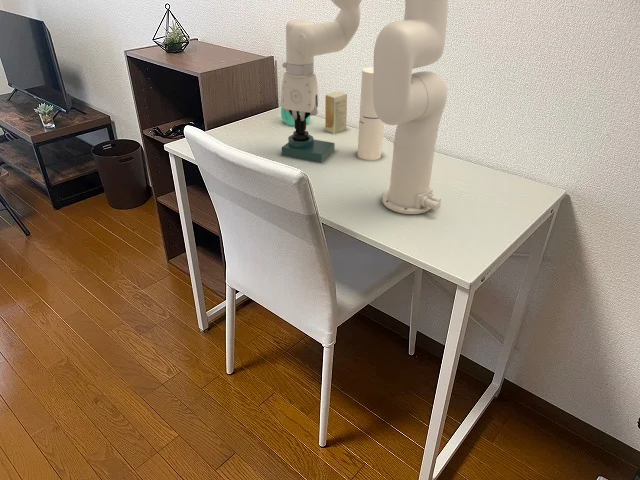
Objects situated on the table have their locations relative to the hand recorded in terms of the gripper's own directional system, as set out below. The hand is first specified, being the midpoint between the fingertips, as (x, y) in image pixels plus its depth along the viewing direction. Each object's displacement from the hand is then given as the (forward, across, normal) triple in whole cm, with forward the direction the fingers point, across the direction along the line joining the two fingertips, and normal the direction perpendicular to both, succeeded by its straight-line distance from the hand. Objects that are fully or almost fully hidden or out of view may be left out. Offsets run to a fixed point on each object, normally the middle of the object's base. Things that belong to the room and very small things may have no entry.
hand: (300, 131), depth 146 cm
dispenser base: (+6, +3, 0) cm, 7 cm away
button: (+2, 0, 0) cm, 2 cm away
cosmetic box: (+7, +2, +22) cm, 23 cm away
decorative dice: (+7, -13, +24) cm, 28 cm away
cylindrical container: (+6, +20, +6) cm, 22 cm away
